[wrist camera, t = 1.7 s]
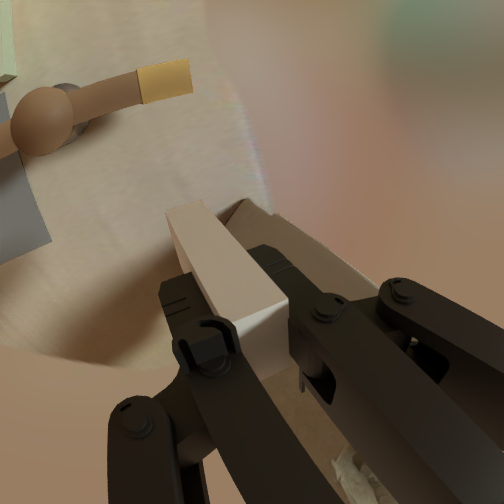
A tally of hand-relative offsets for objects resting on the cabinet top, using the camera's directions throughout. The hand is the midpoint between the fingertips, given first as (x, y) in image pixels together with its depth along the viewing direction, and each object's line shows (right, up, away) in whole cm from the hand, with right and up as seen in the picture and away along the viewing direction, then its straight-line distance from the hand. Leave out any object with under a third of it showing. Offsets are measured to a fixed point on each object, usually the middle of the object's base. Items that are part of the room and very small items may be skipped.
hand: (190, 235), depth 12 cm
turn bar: (-12, +7, +1) cm, 14 cm away
